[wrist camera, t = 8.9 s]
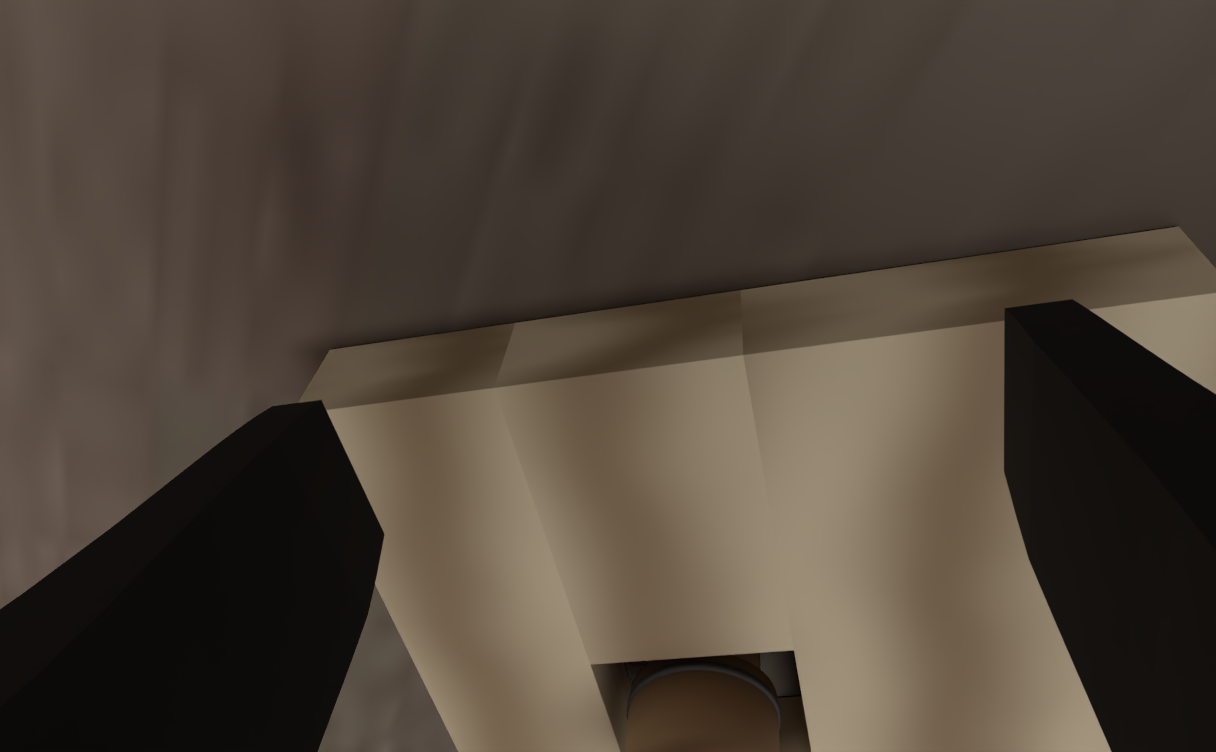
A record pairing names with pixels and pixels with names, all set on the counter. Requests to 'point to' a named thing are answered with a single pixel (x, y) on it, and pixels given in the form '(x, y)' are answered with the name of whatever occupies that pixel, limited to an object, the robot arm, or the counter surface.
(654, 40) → the counter surface
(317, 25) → the counter surface
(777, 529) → the board
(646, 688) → the peg
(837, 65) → the counter surface
